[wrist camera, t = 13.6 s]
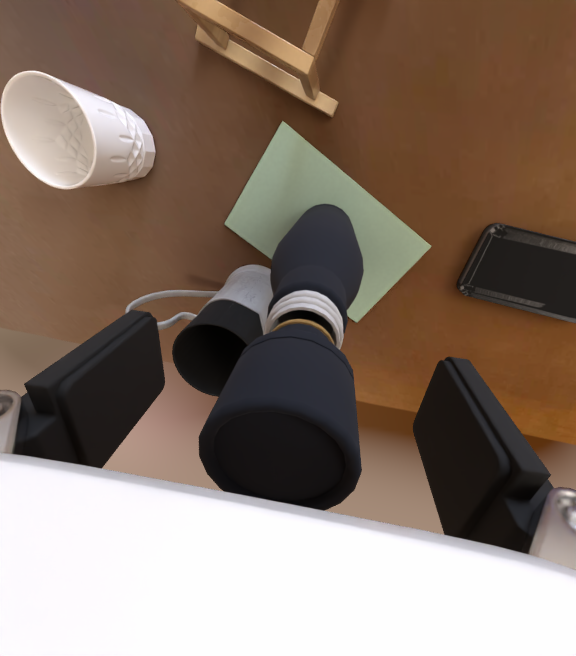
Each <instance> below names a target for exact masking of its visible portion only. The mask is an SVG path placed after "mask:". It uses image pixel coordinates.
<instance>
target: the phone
mask: <svg viewBox="0 0 576 656" xmlns="http://www.w3.org/2000/svg"><path fill="white" fill-rule="evenodd" d="M457 288H458V290H459V291H461V292H462V293H463V294H464V295H466V296H469V297H473V298H477V299H481V300H485V301H489V302H493V303H497V304H501V305H505V306H509V307H513V308H517V309H521V310H525V311H529V312H533V313H537V314H541V315H545V316H549V317H553V318H557V319H561V320H565V321H569V322H573V323H576V242H574V241H570V240H566V239H562V238H558V237H554V236H549V235H545V234H541V233H537V232H533V231H529V230H525V229H521V228H517V227H513V226H508V225H504V224H500V223H495V224H491V225H490V226H488V227H487V228H486V229H485V230H484V231H483V233H482V235H481V237H480V239H479V241H478V243H477V245H476V247H475V248H474V250H473V252H472V254H471V256H470V258H469V260H468V262H467V264H466V266H465V268H464V270H463V272H462V274H461V276H460V278H459V279H458V282H457Z"/></svg>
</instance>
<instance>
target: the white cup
mask: <svg viewBox="0 0 576 656" xmlns="http://www.w3.org/2000/svg"><path fill="white" fill-rule="evenodd" d="M1 118H2V123H3V127H4V131H5V134H6V137H7V139H8V141H9V144H10V146H11V148H12V149H13V151H14V153H15V154H16V156H17V157H18V159H19V160H20V161H21V163H22V164H23V165H24V166H25V167H26V169H27V170H28V171H29V172H31V173H32V174H33V175H34V176H35V177H36V178H38V179H39V180H41V181H42V182H44V183H46V184H48V185H50V186H52V187H55V188H59V189H75V188H83V187H92V186H101V185H107V184H114V183H121V182H125V181H130V180H135V179H138V178H142V177H145V176H146V175H147V173H148V172H149V171H150V170H151V168H152V167H153V164H154V158H155V153H156V151H155V146H154V141H153V136H152V134H151V132H150V131H149V129H148V127H147V125H146V124H145V122H144V120H142V119H141V118H140V117H139V116H138V115H136V114H135V113H134V112H133V111H132V110H130V109H128V108H125V107H122V106H120V105H117V104H116V103H114V102H112V101H110V100H108V99H106V98H103V97H101V96H99V95H97V94H94V93H92V92H90V91H87V90H85V89H82V88H80V87H77V86H75V85H72V84H70V83H67V82H65V81H62V80H60V79H57V78H55V77H53V76H50V75H48V74H45V73H42V72H38V71H24V72H21V73H18V74H16V75H15V76H14V77H12V78H11V79H10V80H9V82H8V83H7V85H6V86H5V88H4V91H3V94H2V99H1Z"/></svg>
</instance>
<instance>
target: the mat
mask: <svg viewBox="0 0 576 656" xmlns="http://www.w3.org/2000/svg"><path fill="white" fill-rule="evenodd" d="M319 204H331V205H335V206H337V207H339V208H341V209H342V210H343V211H344V212H345V213H346V214H347V215H348V216H349V218H350V221H351V223H352V225H353V228H354V232H355V235H356V238H357V241H358V244H359V247H360V251H361V254H362V257H363V269H364V273H363V277H362V281H361V285H360V288H359V292H358V294H357V296H356V298H355V300H354V301H353V303H352V304H351V306H350V307H349V309H348V310H347V316H348V317H350V318H351V319H352V320H354V321H355V322H356V323H357V322H358V321H359V320H360V319H361V318H362V317H363V316H364V315H365V314H366V313H367V312H368V311H369V310H370V309H371V308H372V307H373V306H374V305H375V304H376V303H377V302H378V301H379V300H380V299H381V298H382V297H383V296H384V295H385V294H386V292H387V291H388V290H389V289H390V288H391V287H392V286H393V285H394V284H395V283H396V282H397V281H398V280H399V279H400V278H401V277H402V276H403V275H404V274H405V273H406V272H407V271H408V270H409V269H410V268H411V267H412V266H413V265H414V264H415V263H416V262H417V261H418V260H419V259H420V258H421V257H422V256H423V255H424V254H425V253H426V252H427V251H428V250H429V249H430V248H431V245H429V244H428V243H427V242H426V241H425V240H423V239H422V238H421V237H420V236H419V235H418V234H416V233H415V232H414V231H413V230H412V229H410V228H409V227H408V226H407V225H406V224H404V223H403V222H402V221H401V220H400V219H399V218H397V217H396V216H395V215H394V214H393V213H391V212H390V211H389V210H388V209H387V208H386V207H384V206H383V205H382V204H381V203H380V202H378V201H377V200H376V199H375V198H374V197H372V196H371V195H370V194H369V193H368V192H367V191H365V190H364V189H363V188H362V187H361V186H359V185H358V184H357V183H356V182H355V181H353V180H352V179H351V178H350V177H349V176H348V175H346V174H345V173H344V172H343V171H342V170H340V169H339V168H338V167H337V166H336V165H335V164H333V163H332V162H331V161H330V160H329V159H327V158H326V157H325V156H324V155H323V154H321V153H320V152H319V151H318V150H317V149H316V148H314V147H313V146H312V145H311V144H310V143H308V142H307V141H306V140H305V139H304V138H302V137H301V136H300V135H299V134H298V133H297V132H295V131H294V130H293V129H292V128H291V127H289V126H288V125H287V124H286V123H285V122H284V121H282V123H281V124H280V126H279V128H278V130H277V132H276V133H275V135H274V137H273V139H272V140H271V142H270V144H269V146H268V147H267V149H266V151H265V153H264V155H263V156H262V158H261V160H260V162H259V163H258V165H257V167H256V169H255V170H254V172H253V174H252V176H251V177H250V179H249V181H248V183H247V185H246V186H245V188H244V190H243V192H242V193H241V195H240V197H239V199H238V200H237V202H236V204H235V206H234V208H233V209H232V211H231V213H230V215H229V216H228V218H227V220H226V222H225V223H224V225H226V226H227V227H228V228H230V229H231V230H232V231H234V232H235V233H236V234H238V235H239V236H241V237H242V238H243V239H245V240H246V241H247V242H249V243H250V244H251V245H253V246H254V247H255V248H257V249H258V250H259V251H261V252H262V253H263V254H265V255H266V256H267V257H269V258H270V259H271V260H272V257H273V254H274V252H275V250H276V248H277V246H278V243H279V242H280V241H281V240H282V239H283V237H284V236H285V235H286V234H287V233H288V231H289V230H290V229H291V228H292V227H293V225H294V224H295V223H296V222H297V221H298V219H299V218H300V217H301V216H302V215H303V214H304V213H305V212H306V211H307V210H308V209H310V208H311V207H313V206H315V205H319Z"/></svg>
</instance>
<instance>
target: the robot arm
mask: <svg viewBox="0 0 576 656" xmlns="http://www.w3.org/2000/svg"><path fill="white" fill-rule="evenodd" d="M24 385H25V387H26V390H27V393H26V394H25V395H23V396H22V397H21V396H20V395H19V394H18V393H17V392H14V391H10V390H0V656H576V490H574V489H571V488H564V487H558V488H553V486H552V484H551V483H550V482H549V480H548V478H549V477H550V475H551V474H550V473H549V471H548V470H547V468H546V467H545V466H544V464H543V463H542V462H541V460H540V459H539V457H538V456H537V455H536V453H535V452H534V451H533V449H532V448H531V446H530V445H529V443H528V442H527V441H526V439H525V438H524V436H523V435H522V434H521V432H520V431H519V429H518V428H517V427H516V425H515V424H514V422H513V421H512V420H511V418H510V417H509V415H508V414H507V413H506V411H505V410H504V408H503V407H502V406H501V404H500V403H499V401H498V400H497V399H496V397H495V396H494V394H493V393H492V392H491V390H490V389H489V387H488V386H487V385H486V383H485V382H484V380H483V379H482V378H481V376H480V375H479V373H478V372H477V371H476V369H475V368H474V366H473V365H472V364H471V362H470V361H469V360H467V359H460V358H454V357H447V358H446V359H445V360H444V361H443V360H441V361H439V362H438V364H437V366H436V369H435V371H434V374H433V376H432V379H431V381H430V383H429V386H428V388H427V391H426V393H425V396H424V398H423V400H422V403H421V405H420V408H419V410H418V413H417V415H416V418H415V420H414V423H413V432H414V436H415V439H416V443H417V446H418V449H419V453H420V456H421V459H422V462H423V466H424V469H425V472H426V476H427V479H428V482H429V485H430V488H431V492H432V495H433V498H434V502H435V505H436V508H437V512H438V514H439V518H440V521H441V524H442V528H443V531H444V534H445V535H442V534H438V533H433V532H428V531H424V530H419V529H414V528H408V527H404V526H398V525H393V524H388V523H384V522H378V521H373V520H368V519H363V518H358V517H353V516H348V515H343V514H338V513H333V512H328V511H323V510H318V509H312V508H307V507H302V506H297V505H292V504H287V503H281V502H276V501H271V500H266V499H261V498H255V497H250V496H245V495H240V494H234V493H229V492H224V491H219V490H213V489H207V488H203V487H198V486H192V485H187V484H182V483H176V482H170V481H166V480H160V479H155V478H149V477H144V476H139V475H133V474H127V473H122V472H117V471H112V470H106V469H102V467H103V466H104V465H105V463H106V462H107V461H108V460H109V458H110V457H111V456H112V454H113V453H114V452H115V451H116V449H117V448H118V447H119V445H120V444H121V443H122V442H123V440H124V439H125V438H126V436H127V435H128V434H129V432H130V431H131V430H132V429H133V427H134V426H135V425H136V424H137V422H138V421H139V419H140V418H141V417H142V416H143V415H144V413H145V412H146V411H147V409H148V408H149V407H150V406H151V404H152V403H153V402H154V400H155V399H156V398H157V396H158V395H159V394H160V393H161V391H162V390H163V388H164V385H165V377H164V370H163V362H162V355H161V347H160V340H159V333H158V325H157V320H156V318H154V317H153V316H152V315H151V313H149V312H143V311H136V310H131V311H129V312H128V313H126V314H125V315H123V316H122V317H120V318H119V319H117V320H116V321H115V322H113V323H112V324H110V325H109V326H107V327H106V328H104V329H103V330H101V331H100V332H99V333H97V334H96V335H94V336H93V337H91V338H90V339H88V340H87V341H86V342H84V343H83V344H81V345H80V346H79V347H77V348H76V349H74V350H73V351H71V352H70V353H68V354H67V355H65V356H64V357H62V358H61V359H60V360H58V361H57V362H55V363H54V364H52V365H51V366H49V367H48V368H47V369H45V370H44V371H42V372H41V373H39V374H38V375H36V376H35V377H33V378H32V379H31V380H29V381H28V382H26V383H25V384H24Z"/></svg>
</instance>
